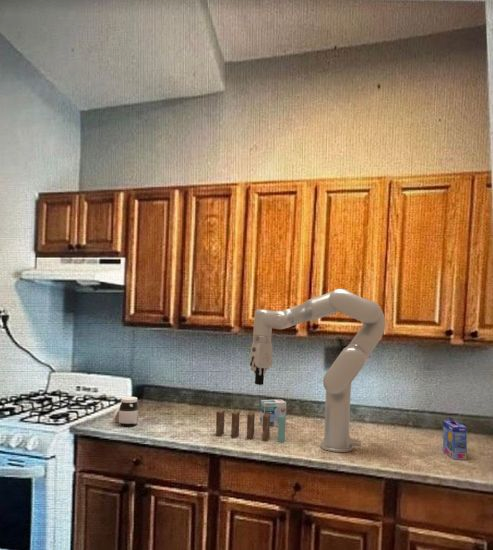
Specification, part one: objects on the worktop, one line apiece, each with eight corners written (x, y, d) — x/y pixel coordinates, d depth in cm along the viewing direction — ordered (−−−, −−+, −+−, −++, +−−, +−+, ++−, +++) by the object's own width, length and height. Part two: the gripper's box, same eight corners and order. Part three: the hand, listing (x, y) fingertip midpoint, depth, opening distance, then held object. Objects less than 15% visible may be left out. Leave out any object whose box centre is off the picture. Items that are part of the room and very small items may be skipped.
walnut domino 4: (269, 438, 212) (270, 413, 213) (267, 441, 208) (267, 416, 208) (264, 437, 213) (265, 413, 213) (262, 440, 208) (263, 415, 208)
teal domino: (284, 439, 211) (285, 414, 211) (282, 442, 206) (283, 417, 206) (280, 439, 211) (280, 414, 212) (278, 442, 207) (278, 417, 207)
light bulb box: (263, 427, 229) (264, 402, 230) (259, 423, 236) (260, 399, 236) (286, 426, 232) (287, 402, 232) (281, 422, 239) (282, 399, 239)
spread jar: (134, 428, 221) (135, 400, 221) (108, 427, 221) (109, 399, 221) (140, 421, 233) (141, 395, 233) (115, 420, 233) (116, 394, 233)
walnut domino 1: (223, 433, 217) (224, 409, 217) (220, 436, 212) (221, 412, 212) (219, 433, 217) (220, 409, 218) (215, 436, 212) (216, 411, 213)
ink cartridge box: (441, 451, 201) (442, 414, 202) (455, 451, 202) (456, 414, 202) (452, 459, 192) (453, 420, 192) (467, 460, 192) (468, 420, 192)
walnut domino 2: (238, 435, 215) (239, 410, 216) (235, 438, 211) (236, 413, 211) (234, 434, 216) (234, 410, 216) (231, 437, 211) (231, 413, 211)
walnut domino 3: (254, 436, 214) (254, 412, 214) (251, 439, 209) (252, 414, 209) (249, 436, 214) (250, 411, 215) (246, 439, 209) (247, 414, 210)
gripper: (257, 341, 204) (254, 387, 204) (280, 340, 216) (277, 384, 215) (243, 339, 209) (240, 384, 208) (265, 337, 220) (262, 381, 220)
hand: (259, 384), depth 212 cm, fingers closed
